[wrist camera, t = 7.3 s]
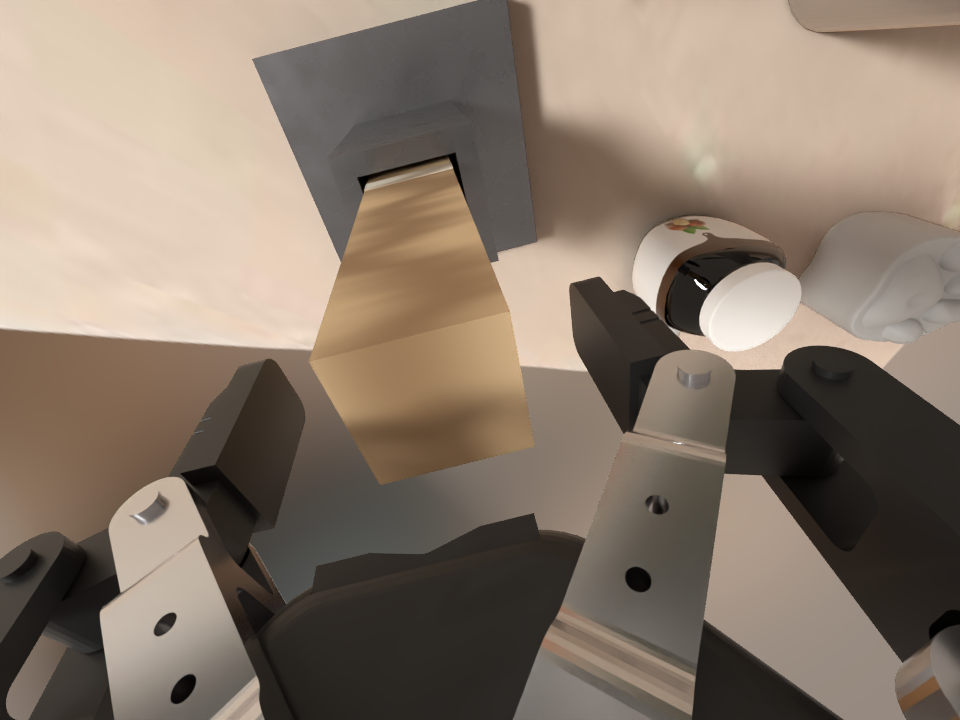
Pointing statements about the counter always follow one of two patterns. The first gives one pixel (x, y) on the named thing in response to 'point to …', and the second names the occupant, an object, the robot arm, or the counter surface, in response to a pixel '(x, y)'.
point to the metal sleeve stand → (410, 115)
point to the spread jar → (715, 281)
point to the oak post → (421, 332)
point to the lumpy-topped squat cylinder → (885, 277)
